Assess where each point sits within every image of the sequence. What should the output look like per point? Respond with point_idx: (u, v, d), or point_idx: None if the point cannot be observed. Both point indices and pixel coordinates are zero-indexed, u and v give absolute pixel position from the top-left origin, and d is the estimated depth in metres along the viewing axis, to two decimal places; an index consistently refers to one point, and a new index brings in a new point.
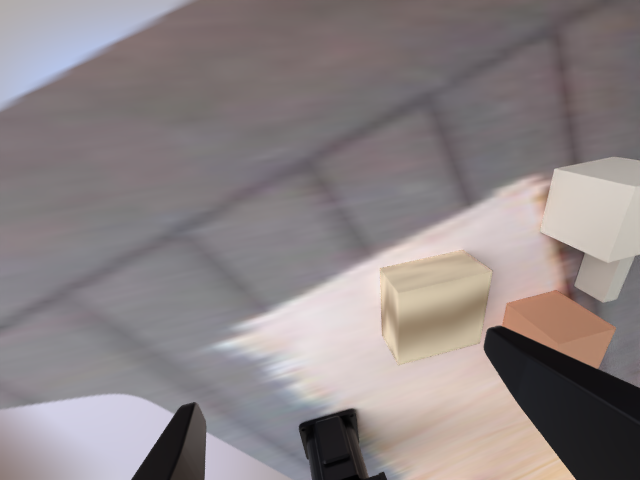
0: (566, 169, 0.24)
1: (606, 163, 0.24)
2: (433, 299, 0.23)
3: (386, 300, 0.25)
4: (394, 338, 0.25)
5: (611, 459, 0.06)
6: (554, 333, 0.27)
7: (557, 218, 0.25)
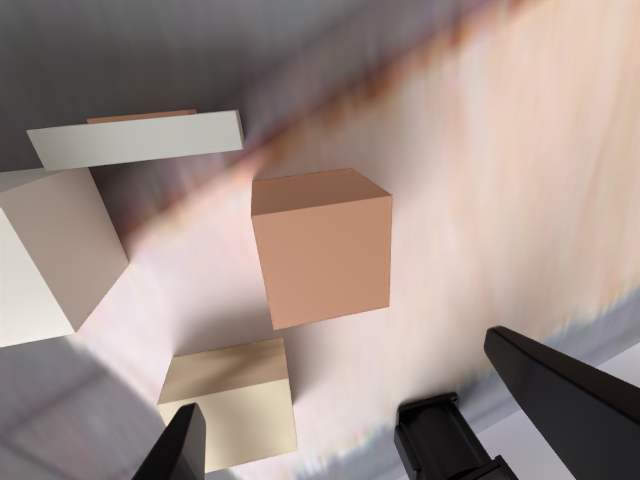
0: None
1: None
2: None
3: None
4: None
5: (611, 459, 0.06)
6: None
7: None
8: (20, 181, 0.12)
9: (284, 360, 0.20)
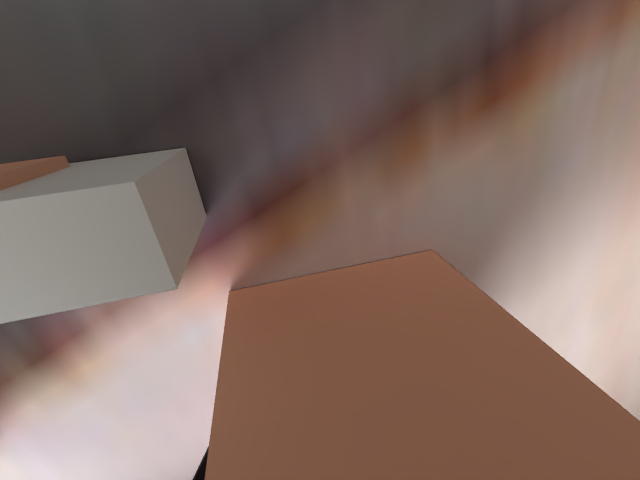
0: None
1: None
2: None
3: None
4: None
5: None
6: None
7: None
8: None
9: None
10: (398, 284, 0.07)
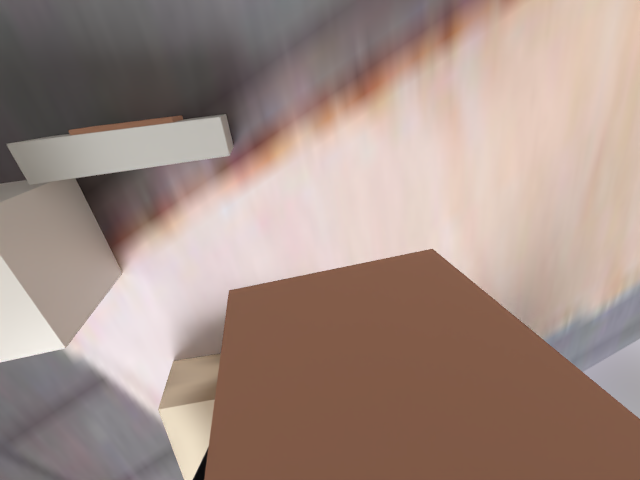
0: None
1: None
2: (198, 453, 0.20)
3: None
4: None
5: None
6: None
7: None
8: (2, 196, 0.11)
9: None
10: (398, 283, 0.07)
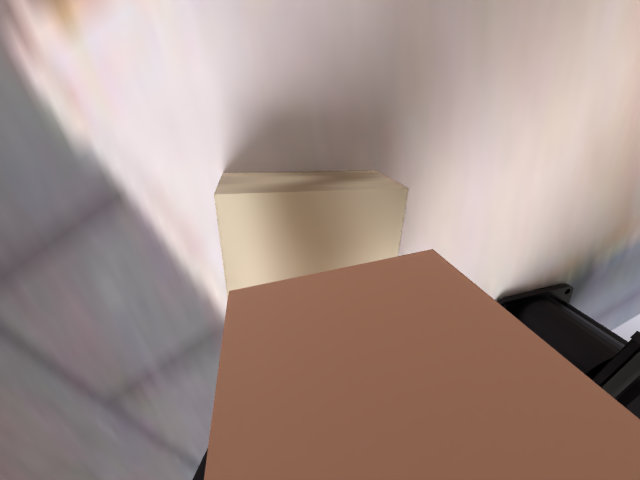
0: None
1: None
2: None
3: None
4: None
5: None
6: None
7: None
8: None
9: (391, 180, 0.14)
10: (398, 284, 0.07)
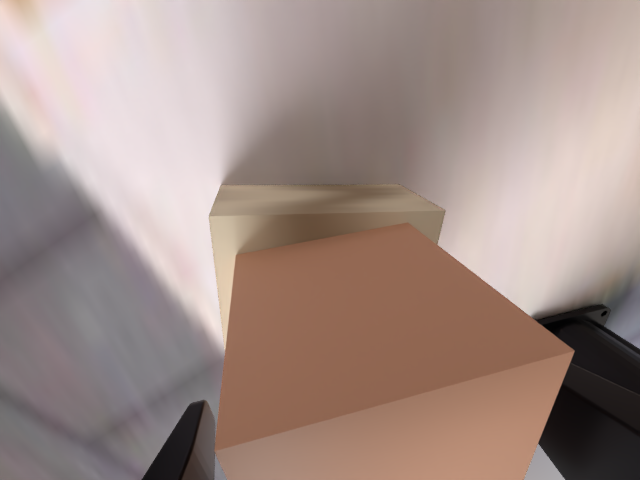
0: None
1: None
2: None
3: None
4: None
5: (601, 462, 0.06)
6: None
7: None
8: None
9: (421, 198, 0.12)
10: (376, 246, 0.09)
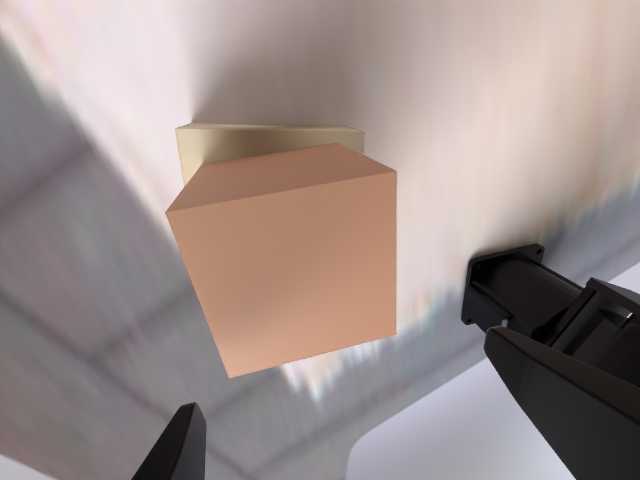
0: None
1: None
2: None
3: None
4: None
5: (611, 459, 0.06)
6: None
7: None
8: None
9: (351, 129, 0.15)
10: (306, 153, 0.12)
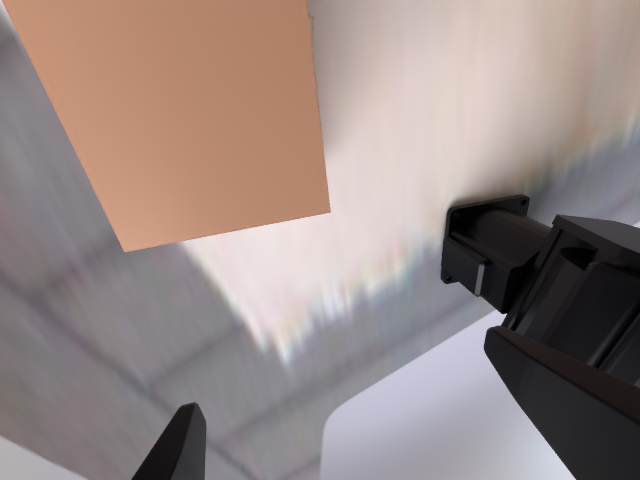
0: None
1: None
2: None
3: None
4: None
5: (611, 459, 0.06)
6: None
7: None
8: None
9: None
10: None
